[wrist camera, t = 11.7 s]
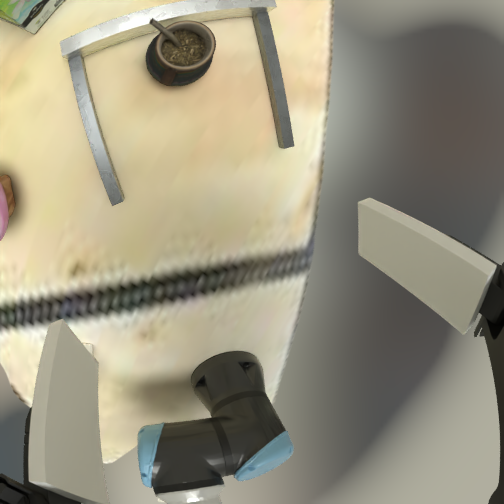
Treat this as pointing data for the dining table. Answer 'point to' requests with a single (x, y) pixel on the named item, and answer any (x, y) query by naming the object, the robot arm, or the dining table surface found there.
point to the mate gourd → (180, 52)
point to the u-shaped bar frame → (137, 24)
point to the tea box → (27, 12)
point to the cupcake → (5, 203)
